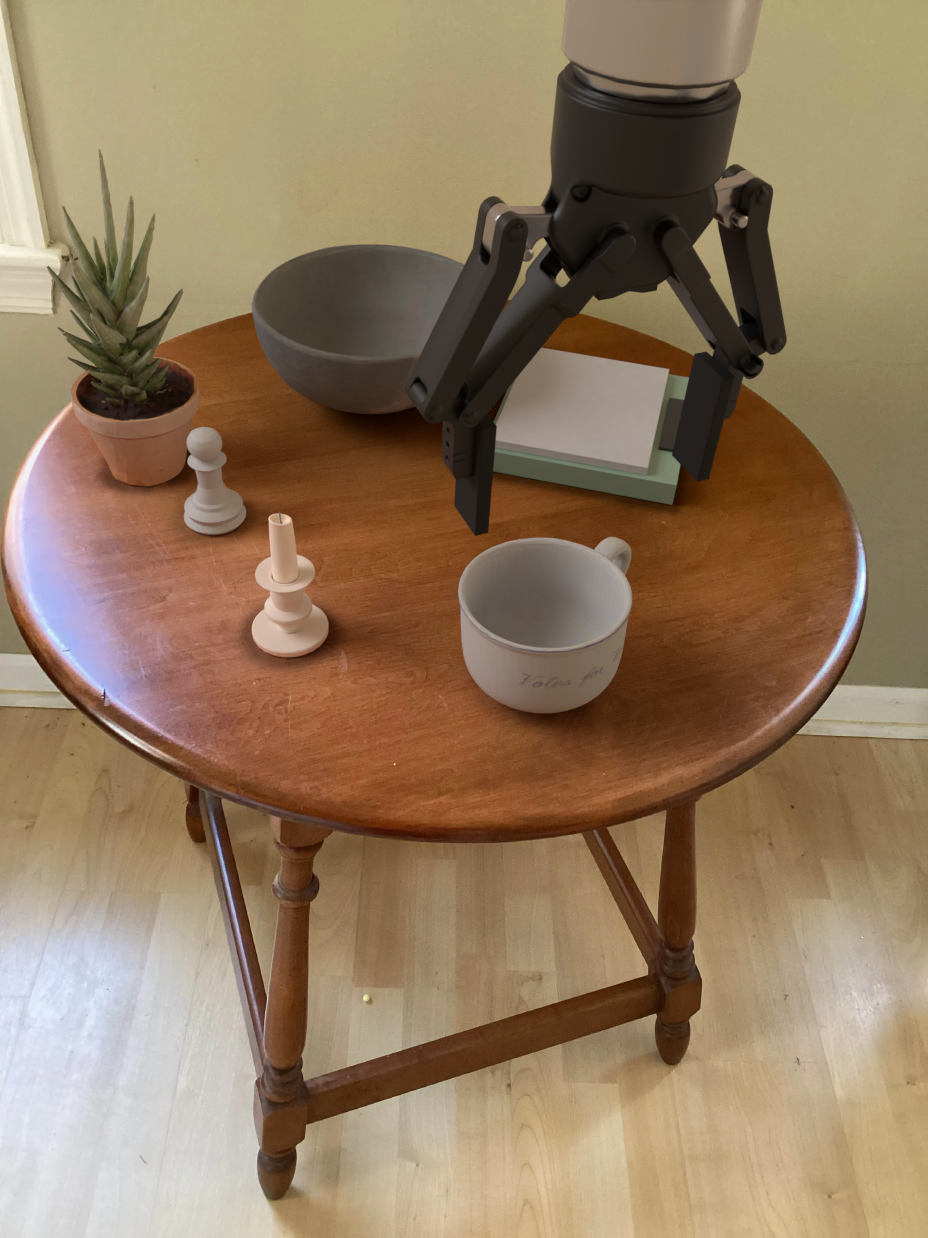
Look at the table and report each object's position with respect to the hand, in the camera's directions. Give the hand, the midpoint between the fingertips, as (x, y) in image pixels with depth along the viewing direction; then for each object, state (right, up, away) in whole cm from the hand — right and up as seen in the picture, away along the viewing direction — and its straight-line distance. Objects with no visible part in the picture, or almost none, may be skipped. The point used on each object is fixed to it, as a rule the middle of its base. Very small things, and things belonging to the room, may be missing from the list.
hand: (584, 492), depth 57 cm
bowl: (-15, +13, +38) cm, 43 cm away
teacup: (-1, -10, +14) cm, 17 cm away
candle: (-19, -8, +15) cm, 25 cm away
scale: (+5, +10, +35) cm, 36 cm away
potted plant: (-32, +6, +28) cm, 43 cm away
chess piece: (-26, +1, +24) cm, 35 cm away
